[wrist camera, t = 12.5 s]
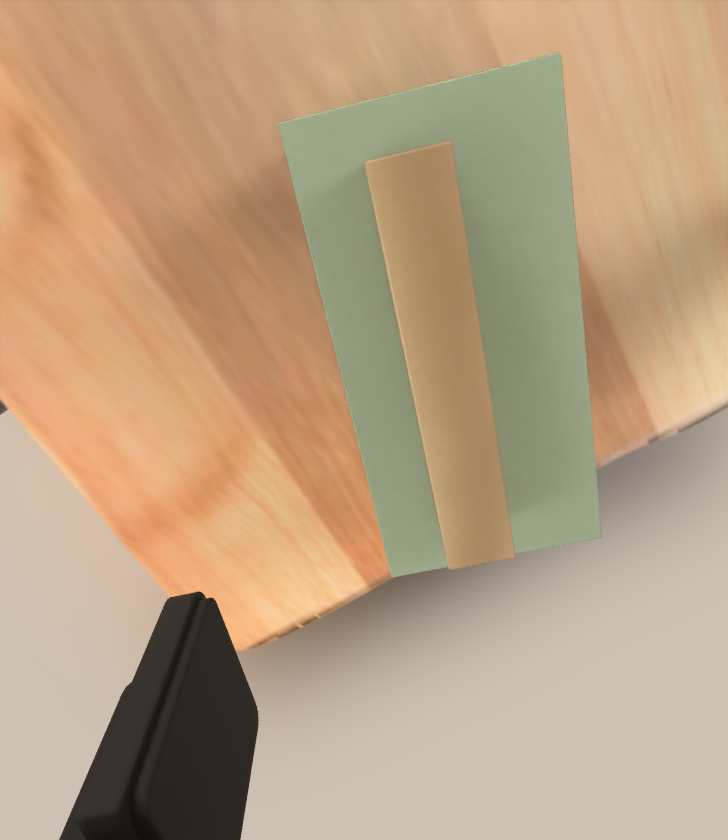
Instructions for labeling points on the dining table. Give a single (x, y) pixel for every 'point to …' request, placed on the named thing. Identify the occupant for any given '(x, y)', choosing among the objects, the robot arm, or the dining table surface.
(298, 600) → the dining table surface
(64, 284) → the dining table surface
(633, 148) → the dining table surface
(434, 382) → the stick
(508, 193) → the shelf
